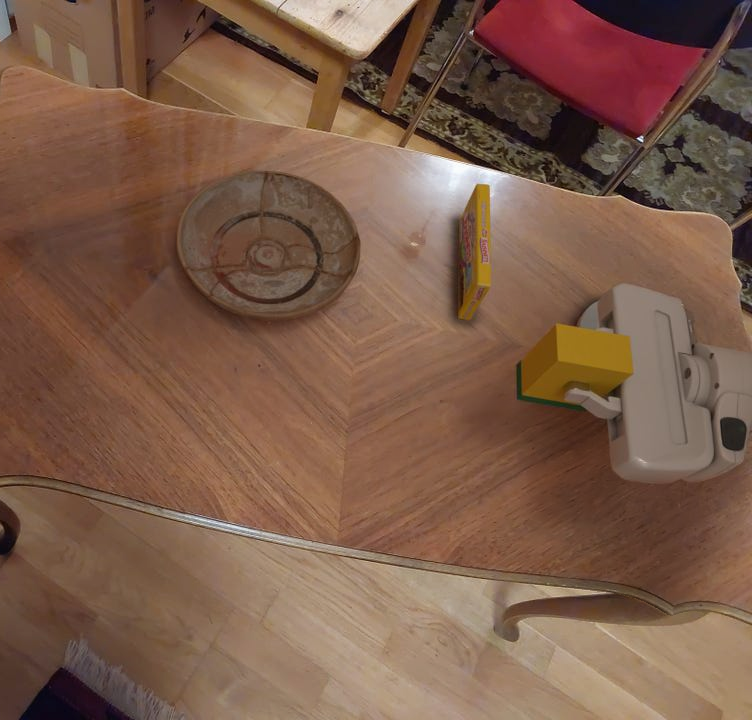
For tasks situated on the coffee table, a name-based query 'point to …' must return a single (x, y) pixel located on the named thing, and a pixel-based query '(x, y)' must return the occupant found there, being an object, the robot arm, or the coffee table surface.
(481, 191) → the candy box
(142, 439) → the coffee table surface
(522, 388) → the sponge
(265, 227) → the ceramic bowl
